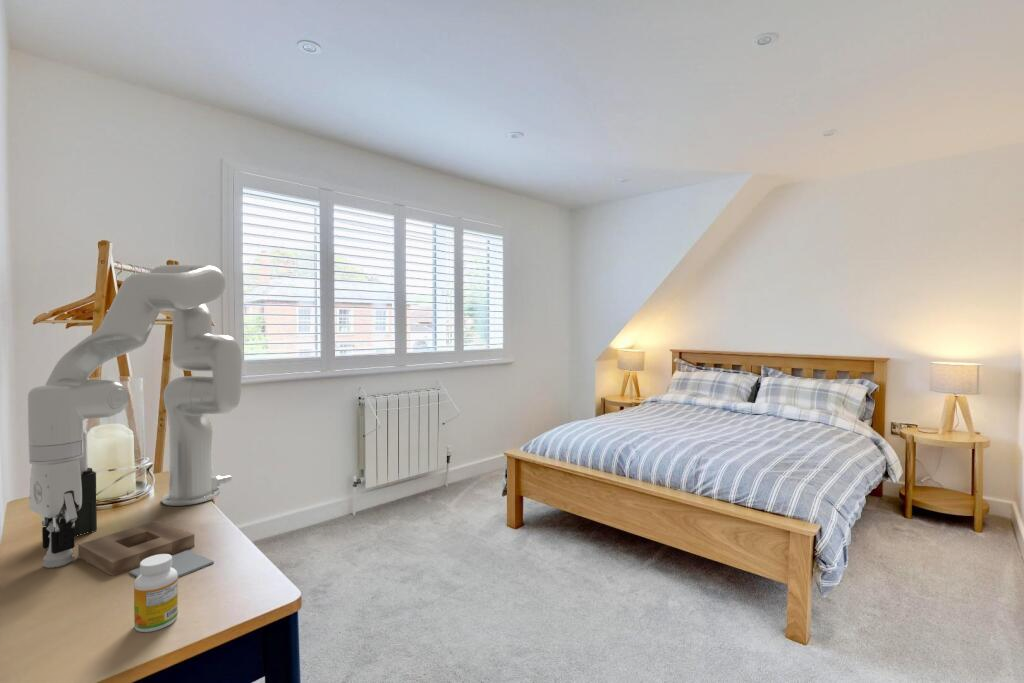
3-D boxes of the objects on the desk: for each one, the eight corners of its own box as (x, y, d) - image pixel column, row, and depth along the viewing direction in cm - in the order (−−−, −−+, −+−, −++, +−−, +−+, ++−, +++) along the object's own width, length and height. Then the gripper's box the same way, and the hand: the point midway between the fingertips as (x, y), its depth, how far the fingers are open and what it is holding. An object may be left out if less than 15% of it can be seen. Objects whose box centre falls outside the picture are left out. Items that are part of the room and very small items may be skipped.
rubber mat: (188, 552, 99) (188, 550, 99) (213, 563, 94) (213, 561, 94) (129, 573, 90) (129, 571, 90) (154, 586, 86) (154, 584, 86)
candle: (68, 539, 104) (66, 420, 103) (59, 533, 106) (57, 417, 106) (98, 530, 108) (97, 416, 107) (89, 525, 111) (87, 414, 110)
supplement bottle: (135, 619, 76) (134, 557, 76) (177, 608, 79) (177, 548, 79) (133, 637, 72) (132, 571, 72) (178, 625, 75) (177, 561, 75)
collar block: (159, 531, 108) (158, 520, 108) (194, 546, 101) (194, 534, 101) (78, 557, 96) (78, 544, 96) (112, 576, 89) (112, 562, 89)
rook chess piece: (55, 570, 91) (54, 527, 91) (36, 567, 92) (35, 524, 91) (80, 558, 95) (80, 517, 95) (62, 556, 96) (61, 515, 96)
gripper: (13, 449, 94) (15, 545, 94) (48, 462, 85) (50, 567, 86) (64, 441, 100) (65, 531, 101) (101, 453, 92) (102, 550, 93)
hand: (58, 547), depth 93 cm, fingers closed on rook chess piece, 3 cm apart
